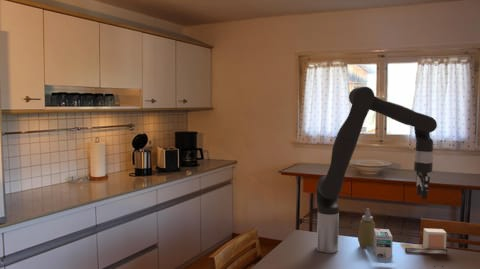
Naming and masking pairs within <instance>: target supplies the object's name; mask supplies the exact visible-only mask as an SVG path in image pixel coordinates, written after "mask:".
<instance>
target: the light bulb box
mask: <svg viewBox="0 0 480 269" xmlns="http://www.w3.org/2000/svg"><path fill="white" fill-rule="evenodd" d="M373 252H374V254H375V257H376V258H387V259H391V258H392V259H393V234H392V233H391V231H390V229H387V228H386V229H385V228H376V227H375V228H374V246H373Z"/></svg>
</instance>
